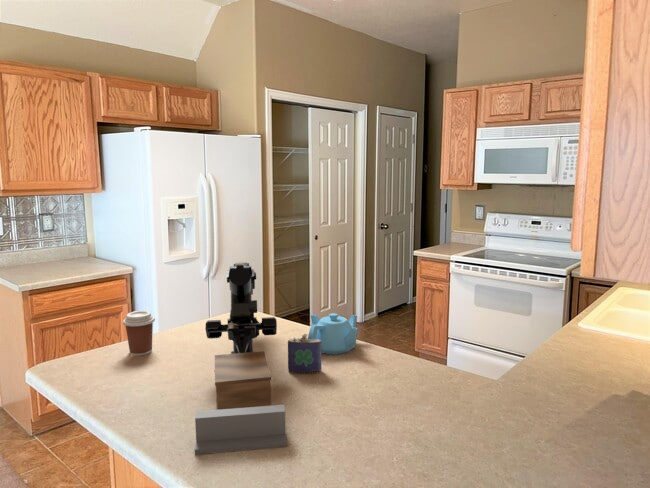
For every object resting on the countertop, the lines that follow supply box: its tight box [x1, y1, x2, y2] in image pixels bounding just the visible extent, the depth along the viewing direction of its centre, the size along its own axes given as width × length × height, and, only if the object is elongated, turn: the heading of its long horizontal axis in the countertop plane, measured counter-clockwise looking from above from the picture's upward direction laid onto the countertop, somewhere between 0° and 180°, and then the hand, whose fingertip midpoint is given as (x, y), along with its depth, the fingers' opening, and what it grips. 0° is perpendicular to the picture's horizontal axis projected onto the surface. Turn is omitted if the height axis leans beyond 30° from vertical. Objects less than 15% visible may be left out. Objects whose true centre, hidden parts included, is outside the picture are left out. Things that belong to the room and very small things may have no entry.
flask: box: [287, 333, 322, 375], centre depth 137 cm, size 9×3×11 cm, turn 88°
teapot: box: [307, 312, 359, 355], centre depth 156 cm, size 15×15×11 cm
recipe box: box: [214, 350, 272, 410], centre depth 120 cm, size 16×12×9 cm
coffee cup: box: [122, 310, 156, 357], centre depth 153 cm, size 9×9×12 cm
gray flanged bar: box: [194, 404, 288, 455], centre depth 102 cm, size 6×18×6 cm, turn 99°
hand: (242, 357), depth 131 cm, fingers closed
